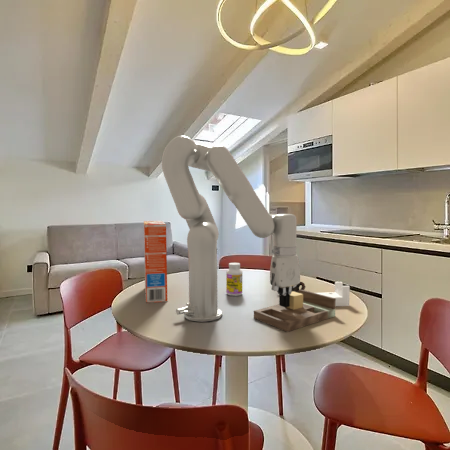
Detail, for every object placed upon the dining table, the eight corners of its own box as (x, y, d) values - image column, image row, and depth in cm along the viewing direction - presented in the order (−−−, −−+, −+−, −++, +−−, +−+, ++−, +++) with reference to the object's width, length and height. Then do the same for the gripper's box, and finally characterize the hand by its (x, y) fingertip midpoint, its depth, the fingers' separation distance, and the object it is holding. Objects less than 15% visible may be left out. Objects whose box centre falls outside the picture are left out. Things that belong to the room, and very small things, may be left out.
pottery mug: (275, 299, 137) (272, 279, 141) (281, 303, 145) (278, 284, 149) (305, 294, 133) (301, 273, 137) (310, 299, 141) (306, 279, 145)
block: (293, 309, 115) (293, 296, 114) (284, 306, 118) (284, 293, 118) (303, 307, 117) (303, 294, 117) (293, 303, 121) (293, 291, 121)
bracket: (341, 300, 134) (341, 281, 133) (349, 306, 127) (349, 286, 126) (308, 302, 133) (308, 282, 132) (314, 307, 126) (315, 287, 125)
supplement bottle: (223, 295, 142) (223, 264, 141) (230, 291, 148) (230, 261, 147) (238, 297, 139) (238, 265, 138) (244, 293, 145) (244, 262, 144)
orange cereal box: (167, 301, 133) (166, 224, 131) (146, 303, 132) (144, 224, 129) (163, 287, 156) (162, 220, 154) (145, 288, 154) (143, 221, 152)
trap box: (287, 331, 102) (287, 311, 101) (253, 318, 114) (253, 300, 114) (335, 316, 116) (335, 298, 115) (300, 305, 128) (300, 289, 127)
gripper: (276, 255, 106) (276, 313, 108) (308, 250, 115) (308, 304, 116) (260, 252, 112) (259, 307, 114) (292, 248, 121) (291, 299, 122)
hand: (284, 305), depth 115 cm, fingers closed
